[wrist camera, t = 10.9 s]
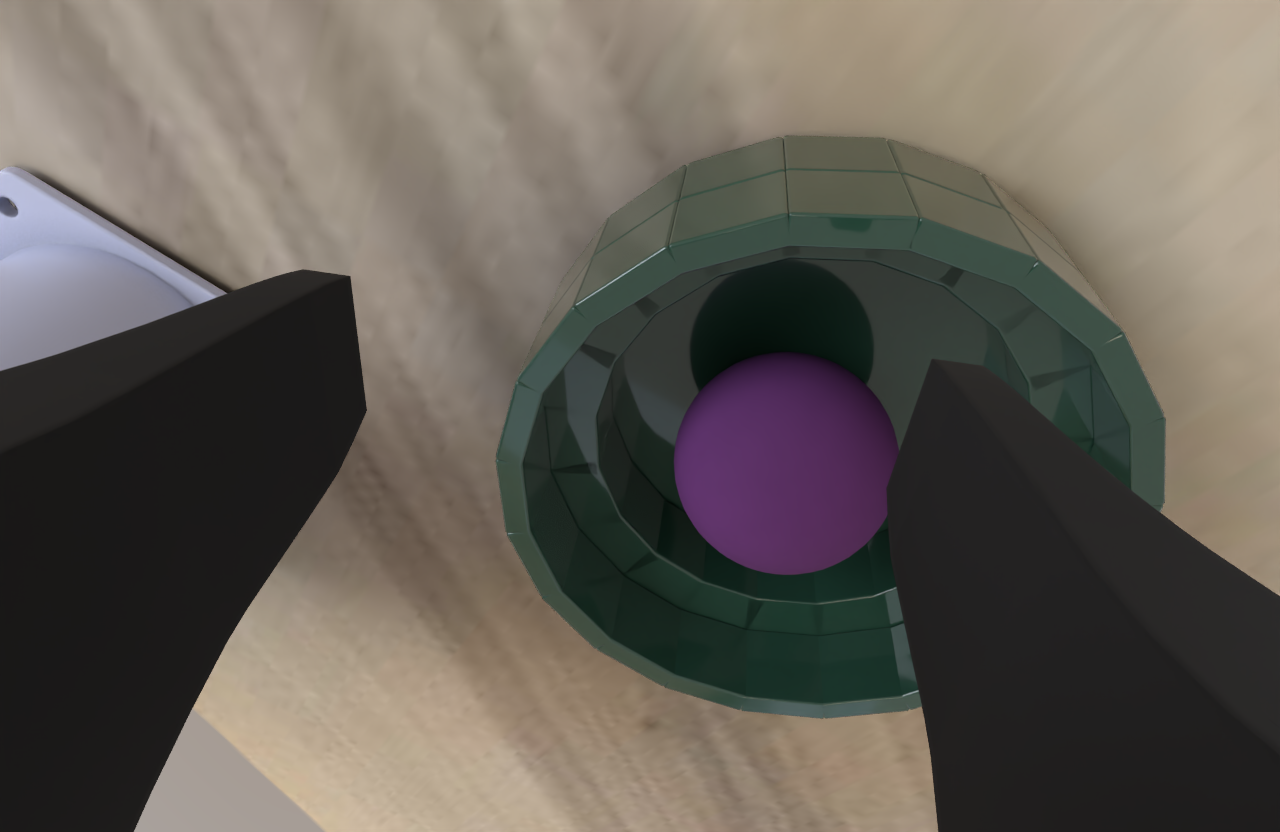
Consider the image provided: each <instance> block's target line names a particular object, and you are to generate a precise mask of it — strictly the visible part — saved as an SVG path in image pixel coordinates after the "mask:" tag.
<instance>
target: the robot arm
mask: <svg viewBox="0 0 1280 832" xmlns="http://www.w3.org/2000/svg"><path fill="white" fill-rule="evenodd" d="M9 199H10V200H11V201H12V202H13V203H15V205H16V207H17V208H18V210H17V209H16V208H15V207H13V206H12V204H11V203H10V201H9ZM366 411H367V409H366V401H365V392H364V384H363V376H362V368H361V360H360V352H359V344H358V336H357V327H356V319H355V311H354V303H353V295H352V287H351V279H350V276H346V275H338V274H331V273H324V272H317V271H310V270H298V271H294V272H290V273H286V274H282V275H279V276H276V277H272V278H269V279H266V280H263V281H260V282H258V283H255V284H252V285H249V286H246V287H244V288H241V289H238V290H235V291H233V292H230V293H226V292H224V291H223V290H221V289H219V288H218V287H216V286H214V285H213V284H211V283H209V282H208V281H206V280H205V279H203V278H201V277H200V276H198V275H196V274H195V273H193V272H191V271H190V270H188V269H186V268H185V267H183V266H181V265H180V264H178V263H176V262H175V261H173V260H172V259H170V258H168V257H167V256H165V255H163V254H162V253H160V252H158V251H157V250H155V249H153V248H152V247H150V246H148V245H147V244H145V243H144V242H142V241H140V240H139V239H137V238H135V237H134V236H132V235H130V234H129V233H127V232H125V231H124V230H122V229H120V228H119V227H117V226H116V225H114V224H112V223H111V222H109V221H107V220H106V219H104V218H102V217H101V216H99V215H97V214H96V213H94V212H92V211H91V210H89V209H88V208H86V207H84V206H83V205H81V204H79V203H78V202H76V201H74V200H73V199H71V198H69V197H68V196H66V195H64V194H63V193H61V192H60V191H58V190H56V189H55V188H53V187H51V186H50V185H48V184H46V183H45V182H43V181H41V180H40V179H38V178H36V177H35V176H33V175H32V174H30V173H28V172H27V171H25V170H23V169H20V168H18V167H10V166H9V167H7V168H5V169H2V170H0V832H134V830H135V828H136V825H137V823H138V821H139V819H140V816H141V814H142V812H143V810H144V807H145V805H146V803H147V801H148V799H149V796H150V794H151V792H152V790H153V788H154V786H155V784H156V782H157V780H158V777H159V775H160V773H161V771H162V769H163V767H164V765H165V763H166V761H167V759H168V757H169V755H170V753H171V751H172V749H173V746H174V745H175V743H176V740H177V738H178V736H179V734H180V732H181V730H182V728H183V726H184V723H185V722H186V720H187V718H188V716H189V714H190V712H191V710H192V708H193V706H194V704H195V702H196V700H197V698H198V696H199V695H200V693H201V691H202V689H203V687H204V685H205V683H206V681H207V679H208V677H209V675H210V674H211V672H212V670H213V668H214V666H215V664H216V662H217V660H218V658H219V656H220V654H221V653H222V651H223V649H224V647H225V645H226V643H227V641H228V639H229V638H230V636H231V635H232V633H233V631H234V630H235V628H236V626H237V625H238V623H239V621H240V620H241V618H242V616H243V615H244V613H245V612H246V610H247V608H248V607H249V605H250V604H251V602H252V601H253V599H254V598H255V596H256V595H257V594H258V592H259V591H260V589H261V588H262V586H263V585H264V583H265V582H266V580H267V579H268V577H269V576H270V574H271V573H272V571H273V570H274V568H275V567H276V565H277V564H278V562H279V561H280V559H281V558H282V556H283V555H284V554H285V552H286V551H287V549H288V548H289V546H290V545H291V543H292V542H293V540H294V539H295V537H296V536H297V534H298V533H299V531H300V530H301V528H302V527H303V525H304V524H305V522H306V521H307V519H308V518H309V516H310V515H311V513H312V512H313V510H314V509H315V507H316V506H317V504H318V503H319V501H320V500H321V498H322V497H323V495H324V494H325V492H326V491H327V489H328V488H329V486H330V484H331V483H332V481H333V480H334V478H335V477H336V475H337V473H338V472H339V470H340V468H341V466H342V464H343V461H344V459H345V457H346V455H347V453H348V451H349V449H350V447H351V445H352V443H353V441H354V438H355V436H356V434H357V432H358V429H359V427H360V425H361V423H362V420H363V418H364V416H365V414H366ZM886 491H887V512H888V530H889V543H890V556H891V562H892V567H893V572H894V577H895V582H896V587H897V592H898V597H899V602H900V606H901V611H902V616H903V621H904V625H905V630H906V634H907V639H908V644H909V648H910V653H911V658H912V662H913V667H914V672H915V676H916V681H917V686H918V690H919V695H920V699H921V704H922V709H923V713H924V718H925V724H926V730H927V736H928V742H929V748H930V754H931V763H932V773H933V783H934V792H935V802H936V812H937V822H938V832H1280V596H1279V595H1277V594H1275V593H1274V592H1272V591H1271V590H1269V589H1268V588H1266V587H1265V586H1263V585H1262V584H1260V583H1259V582H1257V581H1256V580H1254V579H1253V578H1251V577H1250V576H1248V575H1247V574H1245V573H1244V572H1242V571H1241V570H1239V569H1238V568H1237V567H1235V566H1234V565H1232V564H1231V563H1229V562H1228V561H1226V560H1225V559H1223V558H1222V557H1220V556H1219V555H1217V554H1216V553H1214V552H1213V551H1211V550H1210V549H1208V548H1207V547H1206V546H1204V545H1203V544H1201V543H1200V542H1199V541H1197V540H1196V539H1194V538H1193V537H1192V536H1190V535H1189V534H1187V533H1186V532H1185V531H1183V530H1182V529H1181V528H1179V527H1178V526H1177V525H1175V524H1174V523H1173V522H1172V521H1170V520H1169V519H1168V518H1166V517H1165V516H1164V515H1163V514H1161V513H1160V512H1159V511H1157V510H1156V509H1155V508H1154V507H1152V506H1151V505H1150V504H1148V503H1147V502H1146V501H1144V500H1143V499H1142V498H1141V497H1139V496H1138V495H1137V494H1135V493H1134V492H1133V491H1132V490H1130V489H1129V488H1128V487H1127V486H1126V485H1124V484H1123V483H1122V482H1121V481H1119V480H1118V479H1117V478H1116V477H1115V476H1113V475H1112V474H1111V473H1110V472H1108V471H1107V470H1106V469H1105V468H1104V467H1103V466H1101V465H1100V464H1099V463H1098V462H1097V461H1095V460H1094V459H1093V458H1092V457H1091V456H1090V455H1088V454H1087V453H1086V452H1085V451H1084V450H1083V449H1081V448H1080V447H1079V446H1078V445H1077V444H1076V443H1074V442H1073V441H1072V440H1071V439H1070V438H1069V437H1068V436H1066V435H1065V434H1064V433H1063V432H1062V431H1061V430H1060V429H1058V428H1057V427H1056V426H1055V425H1054V424H1053V423H1052V422H1051V421H1049V420H1048V419H1047V418H1046V417H1045V416H1044V415H1043V414H1041V413H1040V412H1039V411H1038V410H1037V409H1036V408H1035V407H1034V406H1032V405H1031V404H1030V403H1029V402H1028V401H1027V400H1026V399H1024V398H1023V397H1022V396H1021V395H1020V394H1019V393H1017V392H1016V391H1015V390H1014V389H1013V388H1012V387H1010V386H1009V385H1008V384H1007V383H1006V382H1004V381H1003V380H1002V379H1001V378H999V377H998V376H997V375H996V374H994V373H993V372H991V371H990V370H989V369H987V368H986V367H984V366H981V365H974V364H967V363H960V362H953V361H946V360H939V359H932V360H931V363H930V365H929V368H928V371H927V374H926V377H925V380H924V383H923V385H922V388H921V391H920V394H919V397H918V400H917V402H916V405H915V408H914V411H913V414H912V417H911V420H910V422H909V425H908V428H907V431H906V434H905V437H904V439H903V442H902V445H901V448H900V451H899V454H898V456H897V459H896V462H895V465H894V468H893V471H892V474H891V476H890V479H889V482H888V485H887V488H886Z"/></svg>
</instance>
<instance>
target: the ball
mask: <svg viewBox="0 0 1280 832" xmlns="http://www.w3.org/2000/svg"><path fill="white" fill-rule="evenodd" d="M898 454H899V447H898V443H897V439H896V435H895V431H894V427H893V425H892V423H891V420H890V418H889V416H888V414H887V412H886V410H885V409H884V407H883V405H882V404H881V402H880V400H879V399H878V398H877V396H876V395H875V394H874V393H873V392H872V390H871V389H870V388H869V387H868V386H867V385H866V384H864V383H863V382H862V381H861V380H860V379H859V378H858V377H857V376H855V375H854V374H853V373H851V372H850V371H848V370H847V369H845V368H843V367H842V366H840V365H838V364H836V363H834V362H832V361H829V360H827V359H824V358H821V357H818V356H814V355H810V354H804V353H797V352H774V353H768V354H762V355H758V356H754V357H751V358H748V359H745V360H743V361H740V362H738V363H736V364H734V365H732V366H730V367H729V368H727V369H726V370H724V371H722V372H721V373H719V374H718V375H717V376H715V377H714V378H713V379H712V380H711V381H709V382H708V383H707V384H706V385H705V386H704V388H703V389H702V390H701V391H700V392H699V393H698V394H697V396H696V397H695V399H694V400H693V402H692V403H691V405H690V407H689V408H688V410H687V411H686V413H685V415H684V418H683V420H682V423H681V425H680V428H679V431H678V435H677V439H676V444H675V452H674V471H675V481H676V486H677V490H678V493H679V497H680V500H681V502H682V505H683V507H684V510H685V511H686V513H687V515H688V517H689V518H690V520H691V522H692V523H693V525H694V527H695V528H696V529H697V531H698V532H699V533H700V534H701V535H702V537H703V538H704V539H705V540H706V541H707V542H708V543H709V544H711V545H712V546H713V547H714V548H715V549H716V550H717V551H719V552H720V553H721V554H723V555H724V556H726V557H727V558H729V559H731V560H733V561H734V562H736V563H738V564H741V565H743V566H745V567H748V568H751V569H753V570H757V571H761V572H765V573H771V574H780V575H795V574H803V573H810V572H815V571H819V570H823V569H825V568H828V567H830V566H833V565H835V564H837V563H839V562H841V561H843V560H845V559H847V558H848V557H850V556H851V555H853V554H854V553H855V552H857V551H858V550H859V549H860V548H862V547H863V546H864V545H865V544H866V543H867V542H868V541H869V540H870V539H871V538H872V537H873V536H874V534H875V533H876V532H877V530H878V529H879V528H880V526H881V525H882V523H883V522H884V521H885V519H886V517H887V514H888V512H887V491H886V488H887V485H888V482H889V479H890V476H891V474H892V471H893V468H894V465H895V462H896V459H897V456H898Z"/></svg>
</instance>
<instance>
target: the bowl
mask: <svg viewBox="0 0 1280 832" xmlns="http://www.w3.org/2000/svg"><path fill="white" fill-rule="evenodd" d="M774 352H797V353H804V354H810V355H814V356H818V357H821V358H824V359H827V360H829V361H832V362H834V363H836V364H838V365H840V366H842V367H843V368H845V369H847V370H848V371H850V372H851V373H853V374H854V375H855V376H857V377H858V378H859V379H860V380H861V381H862V382H863V383H864V384H866V385H867V386H868V387H869V388H870V389H871V390H872V392H873V393H874V394H875V395H876V396H877V398H878V399H879V400H880V402H881V404H882V405H883V407H884V409H885V410H886V412H887V414H888V416H889V418H890V420H891V423H892V425H893V427H894V431H895V435H896V439H897V443H898V447H899V451H900V448H901V445H902V442H903V439H904V437H905V434H906V431H907V428H908V425H909V422H910V420H911V417H912V414H913V411H914V408H915V405H916V402H917V400H918V397H919V394H920V391H921V388H922V385H923V383H924V380H925V377H926V374H927V371H928V368H929V365H930V363H931V360H932V359H939V360H946V361H953V362H960V363H967V364H974V365H981V366H984V367H986V368H987V369H989V370H990V371H991V372H993V373H994V374H996V375H997V376H998V377H999V378H1001V379H1002V380H1003V381H1004V382H1006V383H1007V384H1008V385H1009V386H1010V387H1012V388H1013V389H1014V390H1015V391H1016V392H1017V393H1019V394H1020V395H1021V396H1022V397H1023V398H1024V399H1026V400H1027V401H1028V402H1029V403H1030V404H1031V405H1032V406H1034V407H1035V408H1036V409H1037V410H1038V411H1039V412H1040V413H1041V414H1043V415H1044V416H1045V417H1046V418H1047V419H1048V420H1049V421H1051V422H1052V423H1053V424H1054V425H1055V426H1056V427H1057V428H1058V429H1060V430H1061V431H1062V432H1063V433H1064V434H1065V435H1066V436H1068V437H1069V438H1070V439H1071V440H1072V441H1073V442H1074V443H1076V444H1077V445H1078V446H1079V447H1080V448H1081V449H1083V450H1084V451H1085V452H1086V453H1087V454H1088V455H1090V456H1091V457H1092V458H1093V459H1094V460H1095V461H1097V462H1098V463H1099V464H1100V465H1101V466H1103V467H1104V468H1105V469H1106V470H1107V471H1108V472H1110V473H1111V474H1112V475H1113V476H1115V477H1116V478H1117V479H1118V480H1119V481H1121V482H1122V483H1123V484H1124V485H1126V486H1127V487H1128V488H1129V489H1130V490H1132V491H1133V492H1134V493H1135V494H1137V495H1138V496H1139V497H1141V498H1142V499H1143V500H1144V501H1146V502H1147V503H1148V504H1150V505H1151V506H1152V507H1154V508H1155V509H1156V510H1157V511H1159V512H1161V510H1162V508H1163V504H1164V503H1165V437H1166V419H1165V417H1164V412H1163V410H1162V408H1161V406H1160V404H1159V402H1158V400H1157V398H1156V396H1155V393H1154V391H1153V389H1152V387H1151V385H1150V383H1149V381H1148V379H1147V377H1146V375H1145V373H1144V371H1143V369H1142V366H1141V364H1140V362H1139V360H1138V358H1137V356H1136V354H1135V352H1134V350H1133V348H1132V346H1131V344H1130V341H1129V339H1128V337H1127V335H1126V333H1125V332H1124V330H1123V329H1122V328H1121V326H1120V325H1119V324H1118V322H1117V321H1116V320H1115V318H1114V317H1113V315H1112V314H1111V313H1110V311H1109V310H1108V309H1107V307H1106V306H1105V305H1104V303H1103V302H1102V301H1101V299H1100V298H1099V296H1098V295H1097V294H1096V292H1095V291H1094V290H1093V288H1092V287H1091V286H1090V284H1089V283H1088V282H1087V280H1086V279H1085V278H1084V276H1083V275H1082V274H1081V272H1080V271H1079V270H1078V268H1077V267H1076V265H1075V264H1074V263H1073V261H1072V260H1071V259H1070V257H1069V256H1068V255H1067V253H1066V252H1065V251H1064V249H1063V248H1062V247H1061V245H1060V244H1059V242H1058V241H1057V240H1056V238H1055V237H1054V236H1053V235H1052V233H1051V232H1050V231H1049V230H1048V229H1047V228H1046V227H1045V226H1044V225H1043V224H1041V223H1040V222H1039V221H1038V220H1037V219H1036V218H1034V217H1033V216H1032V215H1031V214H1030V213H1029V212H1027V211H1026V210H1025V209H1024V208H1023V207H1022V206H1020V205H1019V204H1018V203H1017V202H1016V201H1015V200H1013V199H1012V198H1011V197H1010V196H1009V195H1008V194H1006V193H1005V192H1004V191H1003V190H1002V189H1001V188H999V187H998V186H997V185H996V184H995V183H994V182H992V181H991V180H990V179H989V178H988V177H987V176H986V175H983V174H980V173H979V172H978V171H976V170H974V169H971V168H968V167H965V166H963V165H960V164H957V163H954V162H952V161H949V160H946V159H943V158H941V157H938V156H935V155H932V154H930V153H927V152H924V151H921V150H919V149H916V148H913V147H910V146H908V145H905V144H902V143H899V142H897V141H894V140H887V141H886V139H884V138H867V137H826V136H785V137H784V138H782V137H777V138H773V139H770V140H767V141H763V142H760V143H756V144H753V145H750V146H746V147H743V148H739V149H736V150H733V151H729V152H726V153H722V154H719V155H716V156H712V157H709V158H705V159H702V160H699V161H695V162H692V163H689V164H688V165H687V166H686V165H684V166H682V167H680V168H679V169H677V170H676V171H675V172H673V173H672V174H670V175H669V176H667V177H666V178H664V179H663V180H661V181H660V182H659V183H657V184H656V185H654V186H653V187H651V188H650V189H648V190H647V191H645V192H644V193H642V194H641V195H640V196H638V197H637V198H635V199H634V200H632V201H631V202H629V203H628V204H626V205H625V206H624V207H622V208H621V209H619V210H618V211H616V212H615V213H613V214H612V215H611V216H610V217H609V218H608V219H607V220H606V221H605V223H604V224H603V225H602V227H601V228H600V229H599V231H598V232H597V233H596V235H595V236H594V238H593V239H592V240H591V242H590V243H589V244H588V246H587V247H586V248H585V250H584V251H583V252H582V254H581V255H580V257H579V258H578V259H577V261H576V262H575V263H574V265H573V266H572V267H571V269H570V270H569V272H568V273H567V274H566V276H565V277H564V278H563V280H562V281H561V283H560V285H559V287H558V289H557V292H556V294H555V296H554V298H553V300H552V303H551V305H550V307H549V309H548V311H547V314H546V316H545V318H544V320H543V322H542V325H541V327H540V330H539V331H538V334H537V336H536V338H535V340H534V342H533V345H532V347H531V349H530V351H529V353H528V356H527V358H526V360H525V362H524V364H523V366H522V369H521V371H520V373H519V375H518V377H517V380H516V382H515V385H514V389H513V393H512V397H511V400H510V404H509V408H508V412H507V415H506V419H505V423H504V427H503V430H502V434H501V438H500V442H499V446H498V449H497V453H496V467H497V474H498V481H499V488H500V496H501V503H502V510H503V517H504V524H505V530H506V532H507V536H508V538H509V540H510V542H511V543H512V545H513V547H514V549H515V551H516V553H517V554H518V556H519V558H520V560H521V562H522V563H523V565H524V567H525V569H526V571H527V572H528V574H529V576H530V578H531V580H532V581H533V583H534V585H535V587H536V589H537V591H538V592H539V594H540V596H542V599H543V600H544V601H545V602H546V603H547V604H548V605H549V606H550V607H551V608H552V609H553V610H554V611H556V612H557V613H558V614H559V615H560V616H561V617H562V618H563V619H564V620H565V621H566V622H567V623H568V624H569V625H570V626H571V627H572V628H573V629H574V630H576V631H577V632H578V633H579V634H580V635H581V636H582V637H583V638H584V639H585V640H586V641H587V642H588V643H589V644H590V645H591V646H592V647H593V648H595V649H597V650H598V651H600V652H602V653H603V654H605V655H607V656H609V657H611V658H612V659H614V660H616V661H618V662H619V663H621V664H623V665H625V666H627V667H628V668H630V669H632V670H634V671H636V672H637V673H639V674H641V675H643V676H645V677H646V678H648V679H650V680H652V681H654V682H655V683H657V684H659V685H661V686H664V687H665V688H668V689H671V690H674V691H677V692H681V693H684V694H687V695H691V696H694V697H697V698H701V699H704V700H707V701H711V702H714V703H717V704H721V705H724V706H727V707H731V708H734V709H737V710H742V711H748V712H759V713H769V714H779V715H790V716H800V717H810V718H820V719H823V718H826V719H827V718H837V717H848V716H859V715H869V714H880V713H890V712H901V711H908V710H909V709H910V710H912V709H916V708H919V707H922V704H921V699H920V695H919V690H918V686H917V681H916V676H915V672H914V667H913V662H912V658H911V653H910V648H909V644H908V639H907V634H906V630H905V625H904V621H903V616H902V611H901V606H900V602H899V597H898V592H897V587H896V582H895V577H894V572H893V567H892V562H891V556H890V543H889V530H888V514H887V517H886V519H885V521H884V522H883V523H882V525H881V526H880V528H879V529H878V530H877V532H876V533H875V534H874V536H873V537H872V538H871V539H870V540H869V541H868V542H867V543H866V544H865V545H864V546H863V547H862V548H860V549H859V550H858V551H857V552H855V553H854V554H853V555H851V556H850V557H848V558H847V559H845V560H843V561H841V562H839V563H837V564H835V565H833V566H830V567H828V568H825V569H823V570H819V571H815V572H810V573H803V574H795V575H780V574H771V573H765V572H761V571H757V570H753V569H751V568H748V567H745V566H743V565H741V564H738V563H736V562H734V561H733V560H731V559H729V558H727V557H726V556H724V555H723V554H721V553H720V552H719V551H717V550H716V549H715V548H714V547H713V546H712V545H711V544H709V543H708V542H707V541H706V540H705V539H704V538H703V537H702V535H701V534H700V533H699V532H698V531H697V529H696V528H695V527H694V525H693V523H692V522H691V520H690V518H689V517H688V515H687V513H686V511H685V510H684V507H683V505H682V502H681V500H680V497H679V493H678V490H677V486H676V481H675V471H674V452H675V444H676V439H677V435H678V431H679V428H680V425H681V423H682V420H683V418H684V415H685V413H686V411H687V410H688V408H689V407H690V405H691V403H692V402H693V400H694V399H695V397H696V396H697V394H698V393H699V392H700V391H701V390H702V389H703V388H704V386H705V385H706V384H707V383H708V382H709V381H711V380H712V379H713V378H714V377H715V376H717V375H718V374H719V373H721V372H722V371H724V370H726V369H727V368H729V367H730V366H732V365H734V364H736V363H738V362H740V361H743V360H745V359H748V358H751V357H754V356H758V355H762V354H768V353H774Z"/></svg>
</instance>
